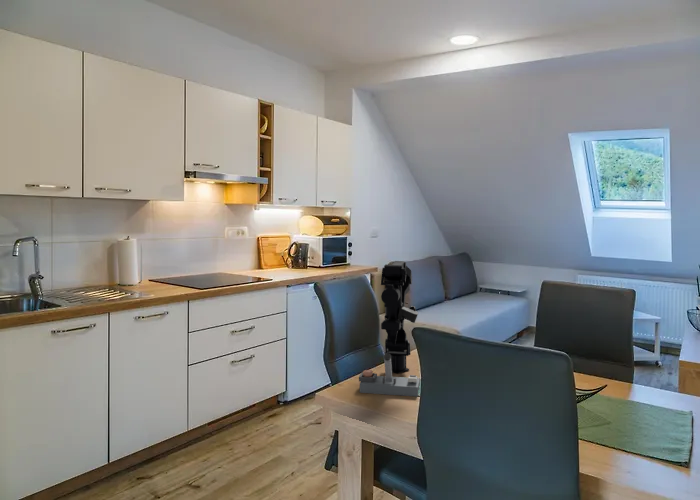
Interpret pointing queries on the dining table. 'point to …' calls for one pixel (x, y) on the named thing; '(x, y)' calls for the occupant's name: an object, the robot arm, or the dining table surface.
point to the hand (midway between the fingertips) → (393, 344)
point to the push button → (367, 373)
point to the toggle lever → (388, 367)
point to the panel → (388, 385)
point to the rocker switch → (412, 378)
